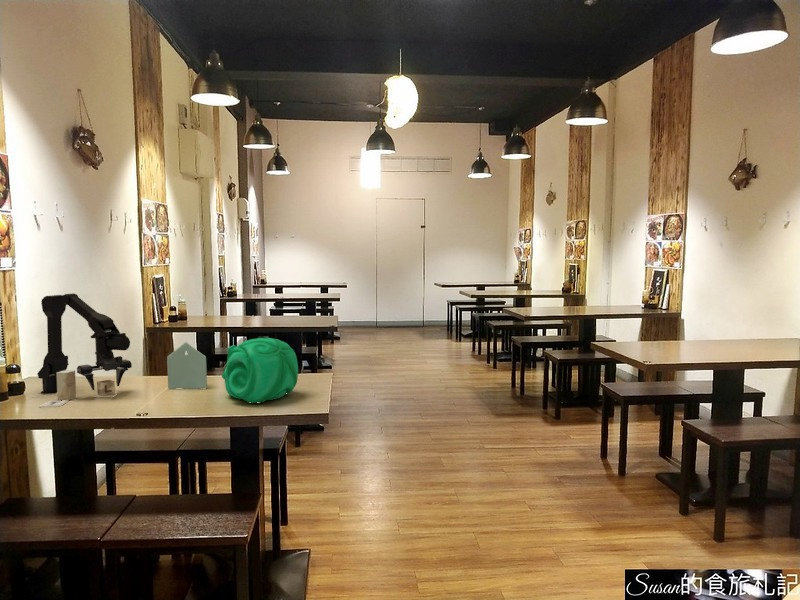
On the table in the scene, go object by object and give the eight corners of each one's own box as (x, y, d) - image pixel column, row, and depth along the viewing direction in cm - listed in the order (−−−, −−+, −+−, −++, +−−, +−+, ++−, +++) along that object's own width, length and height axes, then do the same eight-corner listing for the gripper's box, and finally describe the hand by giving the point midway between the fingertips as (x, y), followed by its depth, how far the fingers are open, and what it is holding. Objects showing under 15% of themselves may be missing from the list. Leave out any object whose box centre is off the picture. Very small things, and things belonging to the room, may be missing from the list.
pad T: (39, 407, 210) (39, 405, 209) (49, 402, 216) (49, 400, 216) (59, 406, 210) (59, 405, 210) (68, 401, 217) (68, 400, 217)
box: (66, 401, 218) (65, 372, 217) (57, 400, 219) (55, 372, 218) (77, 397, 224) (75, 370, 223) (67, 397, 224) (66, 369, 223)
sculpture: (244, 369, 243) (276, 317, 233) (285, 415, 234) (320, 363, 224) (195, 382, 220) (228, 324, 209) (238, 433, 211) (276, 376, 200)
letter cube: (101, 396, 223) (101, 383, 223) (97, 393, 226) (96, 381, 226) (115, 393, 227) (114, 381, 226) (110, 391, 230) (110, 379, 230)
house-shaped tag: (213, 384, 244) (212, 339, 243) (206, 389, 236) (205, 342, 235) (176, 384, 245) (174, 339, 243) (168, 389, 237) (166, 342, 235)
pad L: (93, 398, 223) (93, 396, 223) (100, 393, 230) (100, 391, 230) (111, 397, 224) (111, 395, 223) (118, 393, 230) (118, 391, 230)
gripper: (84, 355, 213) (87, 395, 214) (136, 348, 226) (137, 387, 227) (75, 351, 221) (77, 391, 222) (125, 345, 234) (127, 383, 235)
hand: (105, 388), depth 226 cm, fingers open, 9 cm apart
